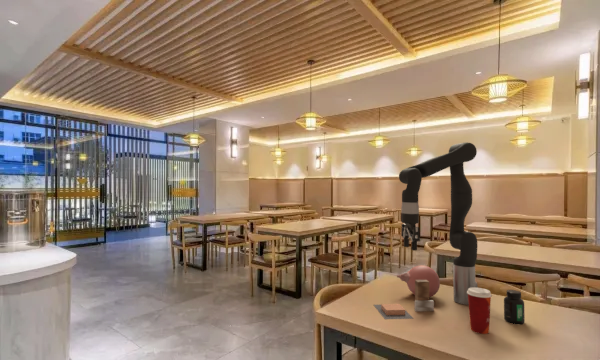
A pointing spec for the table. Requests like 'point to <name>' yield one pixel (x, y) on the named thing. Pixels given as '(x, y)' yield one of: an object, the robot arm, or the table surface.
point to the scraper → (423, 296)
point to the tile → (393, 309)
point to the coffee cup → (479, 309)
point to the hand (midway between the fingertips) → (410, 248)
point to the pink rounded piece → (421, 278)
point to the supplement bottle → (514, 308)
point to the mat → (406, 316)
